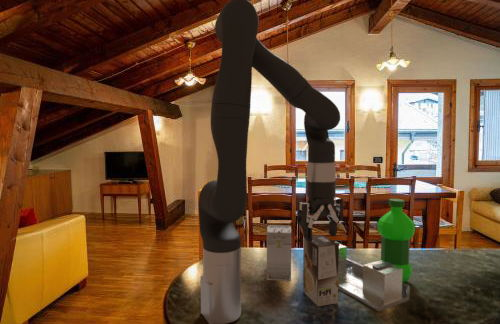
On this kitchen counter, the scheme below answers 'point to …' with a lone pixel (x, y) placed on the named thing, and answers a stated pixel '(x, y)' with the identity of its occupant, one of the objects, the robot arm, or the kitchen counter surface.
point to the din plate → (372, 282)
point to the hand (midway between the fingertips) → (320, 238)
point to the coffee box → (321, 270)
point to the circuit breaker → (279, 253)
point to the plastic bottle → (396, 237)
